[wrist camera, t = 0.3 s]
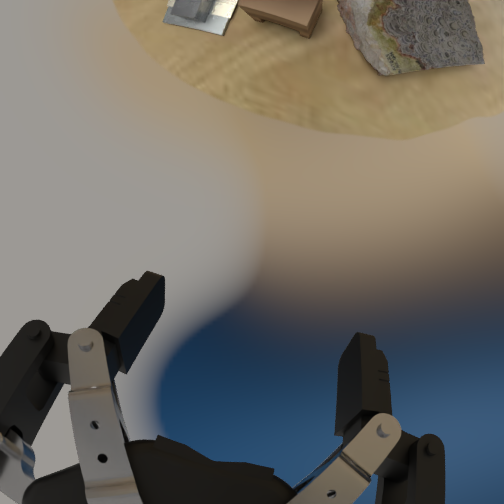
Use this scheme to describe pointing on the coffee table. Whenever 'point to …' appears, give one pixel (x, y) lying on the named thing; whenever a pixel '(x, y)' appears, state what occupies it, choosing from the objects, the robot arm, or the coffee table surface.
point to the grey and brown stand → (201, 14)
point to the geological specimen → (412, 33)
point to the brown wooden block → (285, 13)
